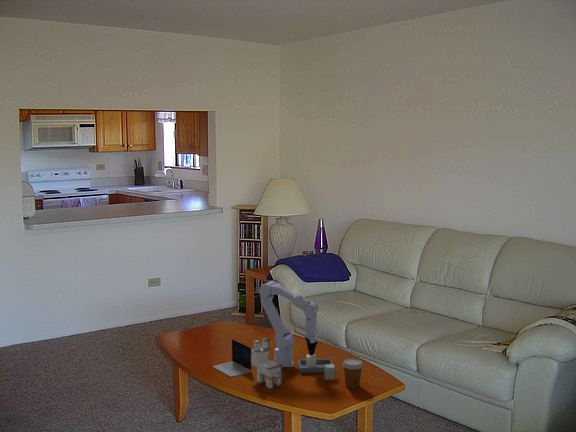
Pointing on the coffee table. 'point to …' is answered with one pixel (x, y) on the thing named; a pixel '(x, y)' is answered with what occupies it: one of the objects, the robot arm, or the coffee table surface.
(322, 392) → the coffee table surface
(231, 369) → the laptop
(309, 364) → the cream block
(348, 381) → the disposable coffee cup
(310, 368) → the grey tray
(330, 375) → the sage block
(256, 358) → the toy llama
